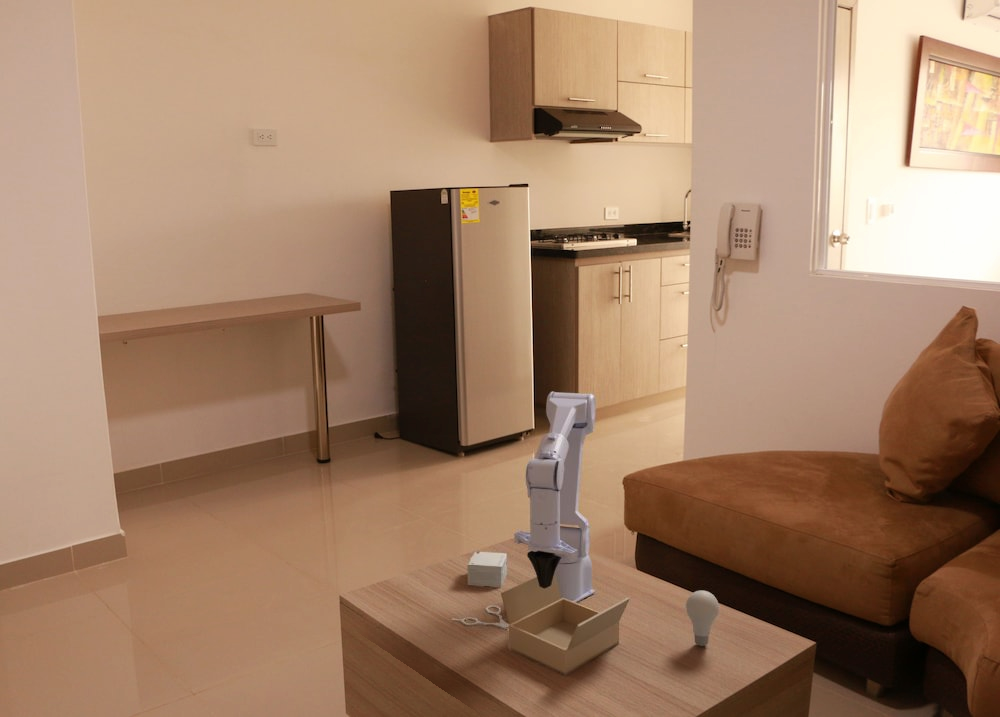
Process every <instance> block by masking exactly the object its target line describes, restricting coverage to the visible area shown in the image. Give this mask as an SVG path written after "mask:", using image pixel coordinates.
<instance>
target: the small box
mask: <svg viewBox="0 0 1000 717" xmlns="http://www.w3.org/2000/svg"><path fill="white" fill-rule="evenodd" d="M507 574H508V554H507V553H506V552H504V553H503V552H487V551H474V552H473V554H472V556H470V558H469V562H468V563H467V586H468V585H476V586H475V587H484V586H490V587H489V588H500V587H501V588H502V587H503V583H504V581H505V579H506V577H507ZM491 586H492V587H491Z"/></svg>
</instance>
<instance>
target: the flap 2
mask: <svg viewBox="0 0 1000 717" xmlns="http://www.w3.org/2000/svg"><path fill="white" fill-rule="evenodd" d="M629 600H630V597H629V596H627V597H626V598H624V599H622V600H620V601H619V602H617V603H615V604H613V605H611V606H609V607H607V608H605V609H604V610H602V611H599V612H600V613H598V614H596V615H595V616H593V617H591V618H589V619H587V620H585V621H584V622H582V623H580V624H578V625H577V627H576V629H575V632H574V634H573V636H572V639H571V641H570V643H569V646H568V648H567V650H568V651H569V650H570V649H572V648H574V647H576V646H577V645H579V644H581V643H583V642H584V641H586V640H588V639H590V638H591V637H593V636H595V635H597V634H598V633H600V632H602V631H604V630H605V629H607V628H609V627H611V626H612V625H614V624H616V623H618V622H619V623H620V621H621V619H622V617H623V614H624V612H625V609H627V605H628V604H629Z"/></svg>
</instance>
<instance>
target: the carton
mask: <svg viewBox="0 0 1000 717" xmlns="http://www.w3.org/2000/svg"><path fill="white" fill-rule="evenodd" d="M600 612H601V611H598V610H596V609H593V608H591V607H588V606H585V605H583V604H580V603H579V602H573V601H571V600H568V599H566V598H561V599H559V600H557V601H555V602H553V603H551V604H549V605H547V606H545V607H543V608H541V609H539V610H537V611H535V612H533V613H531V614H529V615H527V616H525V617H523V618H521V619H519V620H517V621H515V622H513V623H511V624H509V631H508V650H509V651H510V652H513V653H515V654H517V655H519V656H521V657H523V658H526V659H528V660H531V661H533V662H534V663H536V664H539V665H541V666H543V667H545V668H547V669H549V670H552V672H556V673H558V674H560V675H562V676H564V677H566V676H568V675H569V674H571V673H573V672H574V671H576V670H577V669H579V668H581V667H583V666H584V665H586V664H588V663H589V662H591V661H593V660H594V659H596V658H597V657H600V656H601V655H602V654H604V653H605V652H608V651H609V650H611V649H613V648H615V647H616V646H618V645H620V621H619V622H618V623H616V624H614V625H612V626H611V627H609V628H607V629H605V630H604V631H602V632H600V633H598V634H597V635H595V636H593V637H591V638H590V639H588V640H586V641H584V642H583V643H581V644H579V645H577V646H576V647H574V648H572V649H570V650H569V651H568V650H567V648H568V646H569V643H570V641H571V639H572V636H573V634H574V632H575V629H576V627H577V625H578V624H580V623H582V622H584V621H585V620H587V619H589V618H591V617H593V616H595V615H596V614H598V613H600Z"/></svg>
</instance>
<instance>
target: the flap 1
mask: <svg viewBox="0 0 1000 717" xmlns="http://www.w3.org/2000/svg"><path fill="white" fill-rule="evenodd" d="M500 595H501V598H502V602H503V607H504V610H505V614H506V618H507V623H508V624H509V625H510V624H512V623H514V622H516V621H518V620H520V619H522V618H524V617H526V616H528V615H530V614H532V613H534V612H536V611H538V610H540V609H542V608H544V607H546V606H548V605H550V604H552V603H554V602H555V601H557V600H559V599H561V594H560V590H559V586H558V583H557V579H556V575H555V573H554V576H553V580H552V584H551V586H549V587H547V588H545V589H544V588H542V587H540V586H539V582H538V579H537V576H534V577H533V578H531V579H528V580H526V581H524V582H522V583H520V584H517V585H516V586H513V587H511V588H508V589H507V590H504V591H503V592H500Z"/></svg>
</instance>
